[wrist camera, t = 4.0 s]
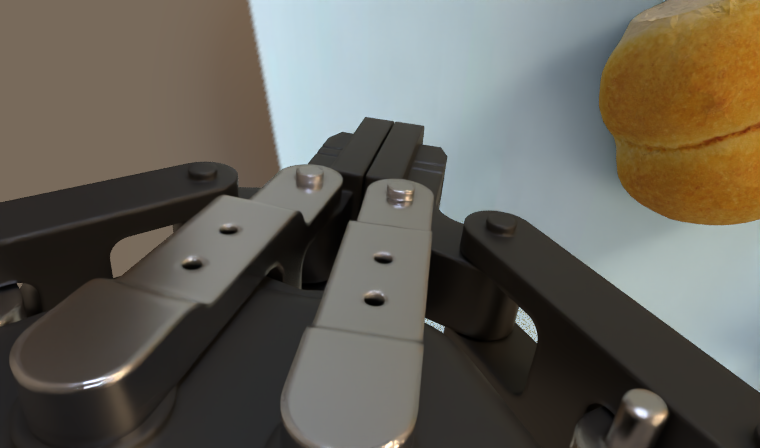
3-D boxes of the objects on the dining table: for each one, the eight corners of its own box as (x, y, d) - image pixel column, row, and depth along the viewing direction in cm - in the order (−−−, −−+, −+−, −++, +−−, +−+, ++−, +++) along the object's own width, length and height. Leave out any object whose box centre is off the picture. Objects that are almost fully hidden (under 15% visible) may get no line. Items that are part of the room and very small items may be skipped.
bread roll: (633, 226, 26) (651, 276, 22) (575, 30, 22) (586, 54, 19) (856, 168, 23) (917, 216, 19) (828, -68, 19) (895, -61, 16)
